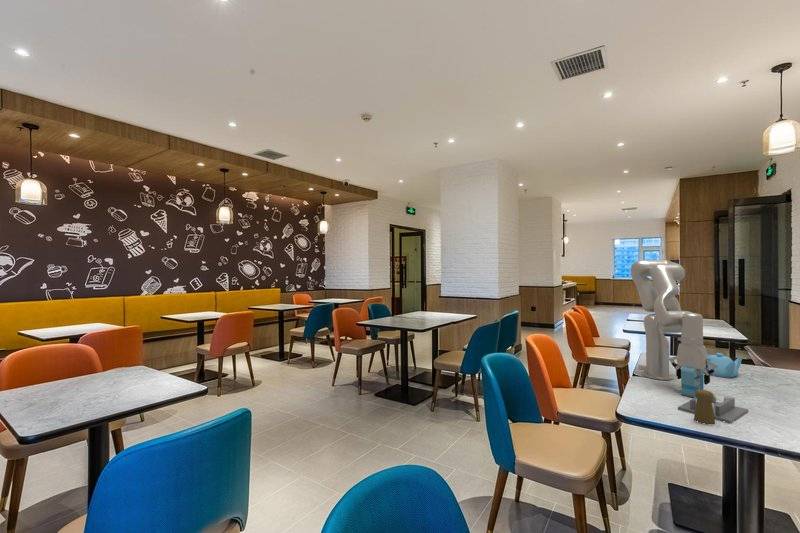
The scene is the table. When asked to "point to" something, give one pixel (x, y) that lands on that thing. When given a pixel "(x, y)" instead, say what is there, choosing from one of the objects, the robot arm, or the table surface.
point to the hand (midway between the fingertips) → (692, 381)
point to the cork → (704, 407)
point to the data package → (691, 381)
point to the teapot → (724, 365)
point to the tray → (718, 408)
